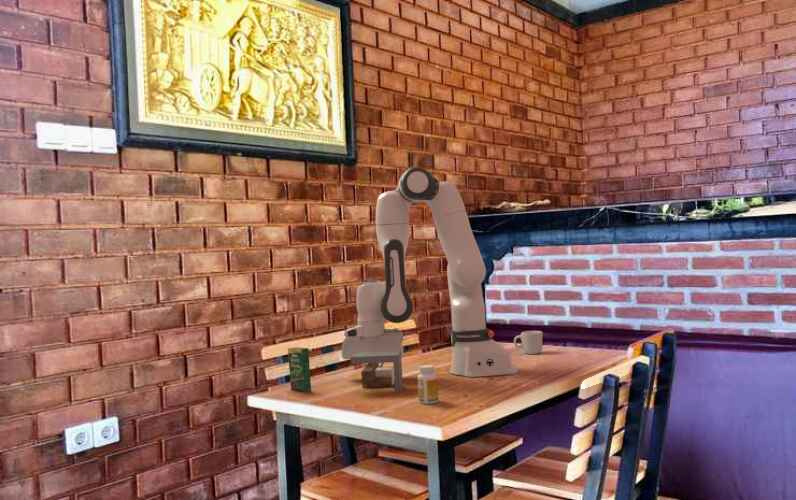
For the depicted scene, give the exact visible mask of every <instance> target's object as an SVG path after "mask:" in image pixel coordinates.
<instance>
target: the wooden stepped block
mask: <svg viewBox="0 0 796 500" xmlns="http://www.w3.org/2000/svg"><path fill="white" fill-rule="evenodd" d="M379 364H380V363H366V365H367V366H366V367H365V368H364V367H363V369H362V370H361V387H362V388H365V389H366V388H390V387H392V386H393V385H392V376H376V372H375V370H376V369H377V367H378V366H380V365H379Z"/></svg>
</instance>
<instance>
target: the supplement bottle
mask: <svg viewBox="0 0 796 500" xmlns="http://www.w3.org/2000/svg"><path fill="white" fill-rule="evenodd" d="M419 372H420V373H419V374H418V375H417V389H418V390H417V391H418V401H419V403H420V404H424V405H429V404H431V405H432V404H436V403H438V402H439V401H440V398H439V382H438V374H437V373H435V366H434V365H432V364H424V365H420V366H419Z"/></svg>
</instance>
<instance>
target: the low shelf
mask: <svg viewBox="0 0 796 500" xmlns="http://www.w3.org/2000/svg"><path fill="white" fill-rule="evenodd" d="M362 363H365V364H368V363H379V364H381V363H384V364H387V363H393V370H394V394H401V392H402V390H403V388H404V385H403V382H404V381H403V367H402V364H403V363H402V356H401V351H385V352H360V353H354V354H353V355H352V356H351V359H350V364H352V365H357V364H360V365H362Z"/></svg>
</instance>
